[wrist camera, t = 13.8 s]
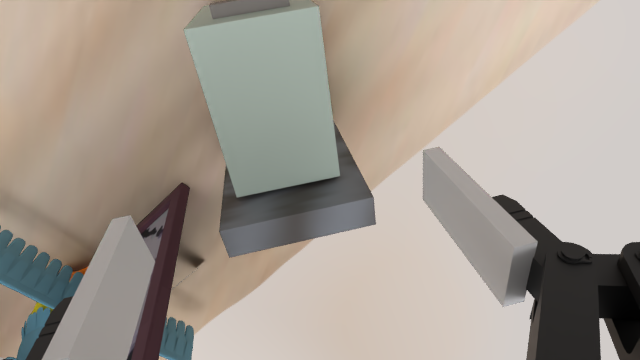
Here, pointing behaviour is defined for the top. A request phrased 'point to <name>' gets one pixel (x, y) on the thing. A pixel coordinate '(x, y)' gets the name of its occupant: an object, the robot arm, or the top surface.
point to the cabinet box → (266, 91)
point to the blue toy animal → (63, 295)
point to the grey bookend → (297, 209)
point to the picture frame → (159, 271)
